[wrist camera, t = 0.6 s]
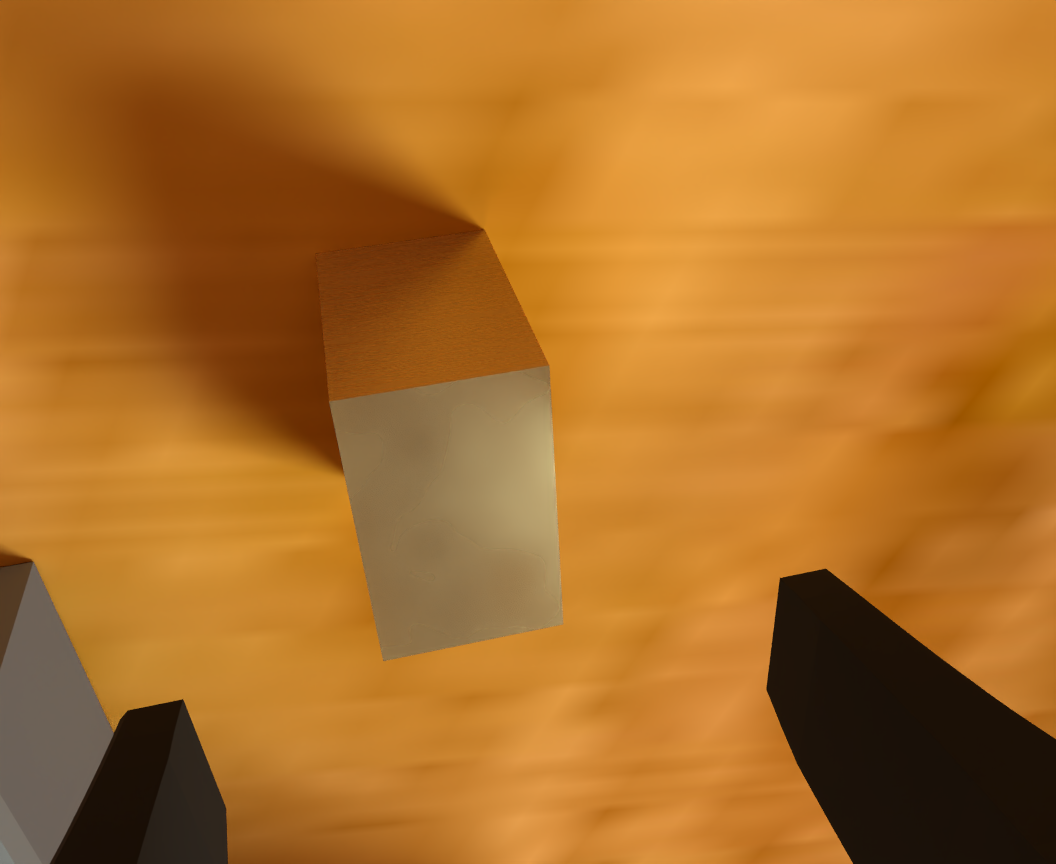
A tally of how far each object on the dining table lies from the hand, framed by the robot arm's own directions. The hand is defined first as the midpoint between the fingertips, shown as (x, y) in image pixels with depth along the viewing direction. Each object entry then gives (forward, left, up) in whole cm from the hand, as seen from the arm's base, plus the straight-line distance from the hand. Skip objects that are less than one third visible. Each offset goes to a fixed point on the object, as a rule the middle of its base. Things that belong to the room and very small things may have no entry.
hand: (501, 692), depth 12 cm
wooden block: (0, 0, -8) cm, 8 cm away
